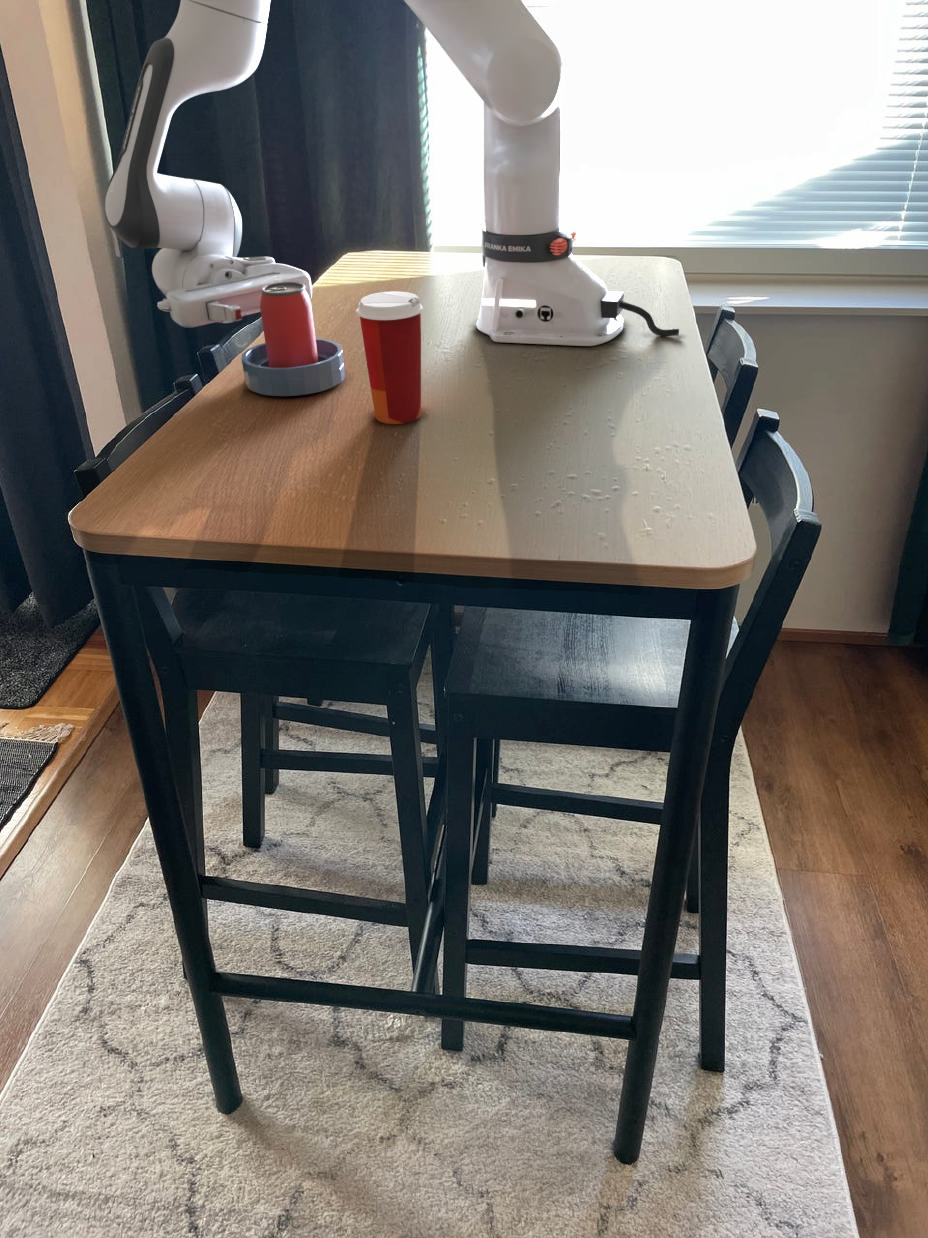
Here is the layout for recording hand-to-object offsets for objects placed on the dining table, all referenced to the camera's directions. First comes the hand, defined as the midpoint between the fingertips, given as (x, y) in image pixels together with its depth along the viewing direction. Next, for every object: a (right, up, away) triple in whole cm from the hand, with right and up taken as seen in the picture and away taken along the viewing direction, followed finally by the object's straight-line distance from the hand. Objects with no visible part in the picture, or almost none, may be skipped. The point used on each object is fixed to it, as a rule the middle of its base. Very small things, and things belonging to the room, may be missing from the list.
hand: (268, 307), depth 123 cm
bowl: (+3, -10, +2) cm, 10 cm away
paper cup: (+18, -17, -10) cm, 26 cm away
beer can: (+3, -9, +2) cm, 10 cm away
